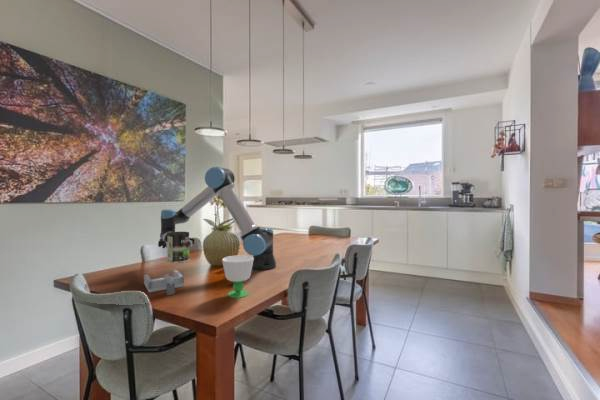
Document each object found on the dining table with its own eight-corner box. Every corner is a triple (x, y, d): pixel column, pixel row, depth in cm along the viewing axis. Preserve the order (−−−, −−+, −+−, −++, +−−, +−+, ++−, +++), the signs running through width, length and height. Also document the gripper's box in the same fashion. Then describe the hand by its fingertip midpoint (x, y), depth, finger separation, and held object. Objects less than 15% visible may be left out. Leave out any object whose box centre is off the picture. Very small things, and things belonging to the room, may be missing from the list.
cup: (224, 301, 121) (224, 263, 120) (219, 291, 133) (219, 256, 133) (257, 297, 126) (257, 260, 126) (249, 287, 139) (249, 254, 138)
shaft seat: (144, 283, 144) (143, 269, 143) (176, 278, 152) (176, 265, 152) (152, 298, 124) (152, 282, 124) (189, 291, 133) (188, 276, 133)
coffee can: (193, 259, 152) (193, 231, 152) (181, 263, 142) (181, 234, 142) (175, 257, 154) (175, 231, 154) (162, 262, 144) (162, 233, 144)
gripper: (192, 243, 169) (203, 250, 151) (148, 247, 157) (154, 255, 138) (192, 230, 169) (203, 235, 151) (148, 233, 156) (154, 239, 138)
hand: (180, 245), depth 144 cm, fingers closed on coffee can, 10 cm apart
